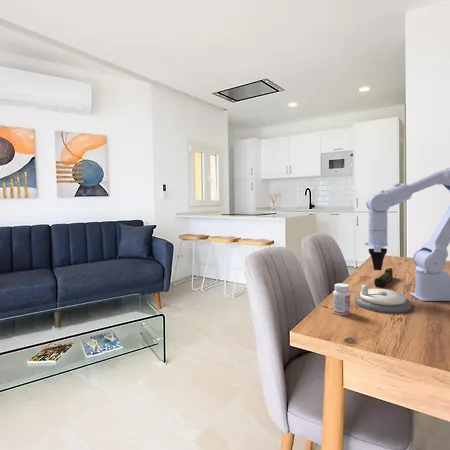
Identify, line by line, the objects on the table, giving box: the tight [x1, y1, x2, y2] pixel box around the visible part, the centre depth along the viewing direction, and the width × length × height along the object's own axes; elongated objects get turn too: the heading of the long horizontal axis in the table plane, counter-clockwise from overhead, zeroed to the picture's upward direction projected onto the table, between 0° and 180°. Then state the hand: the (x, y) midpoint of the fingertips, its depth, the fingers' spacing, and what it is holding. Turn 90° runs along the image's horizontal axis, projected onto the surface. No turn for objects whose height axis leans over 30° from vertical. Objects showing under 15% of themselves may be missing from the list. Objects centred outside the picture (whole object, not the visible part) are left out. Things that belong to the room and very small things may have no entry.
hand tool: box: [374, 267, 394, 289], centre depth 128 cm, size 19×4×5 cm, turn 139°
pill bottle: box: [332, 282, 351, 316], centre depth 95 cm, size 5×5×8 cm
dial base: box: [354, 293, 412, 314], centre depth 102 cm, size 16×16×2 cm
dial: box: [359, 284, 407, 306], centre depth 102 cm, size 13×13×4 cm
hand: (377, 269), depth 109 cm, fingers closed
